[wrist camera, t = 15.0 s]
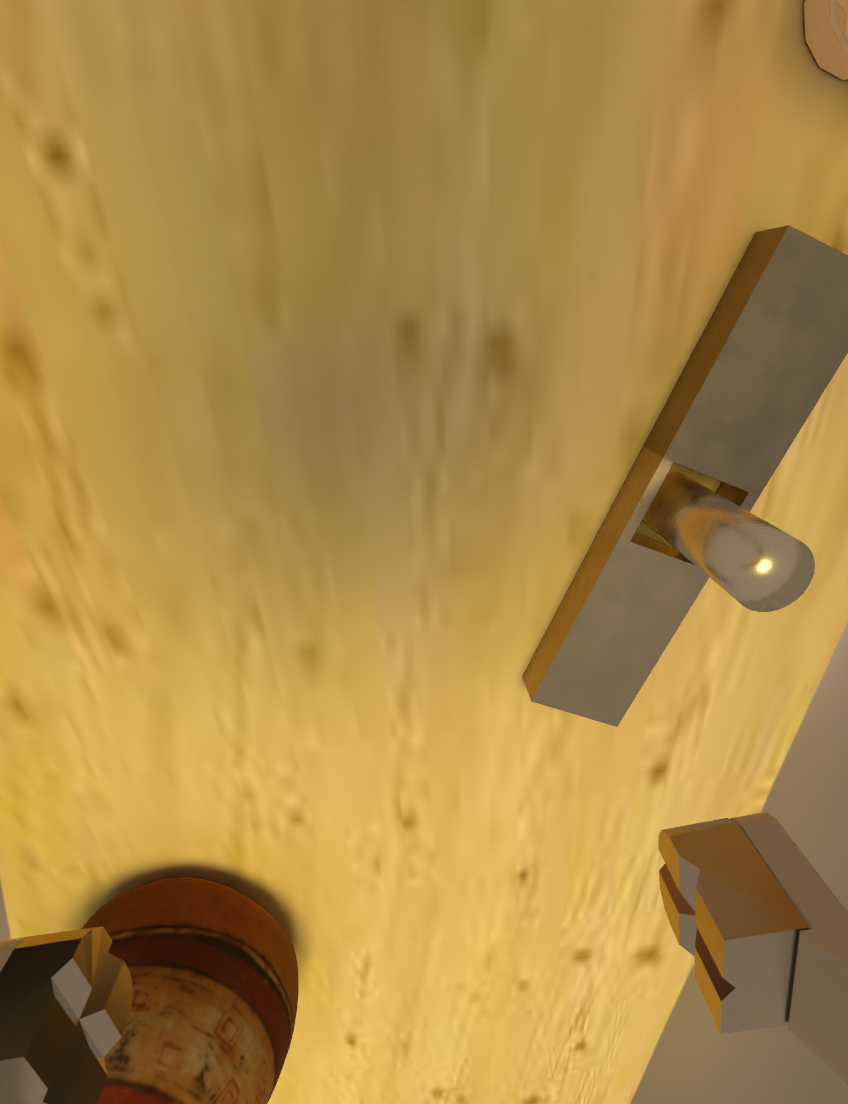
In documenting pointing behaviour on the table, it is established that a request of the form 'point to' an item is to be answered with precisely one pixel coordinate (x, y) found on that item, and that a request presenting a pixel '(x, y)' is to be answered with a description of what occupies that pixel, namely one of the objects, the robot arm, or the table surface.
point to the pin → (731, 544)
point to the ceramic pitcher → (199, 995)
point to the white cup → (828, 34)
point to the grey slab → (698, 467)
